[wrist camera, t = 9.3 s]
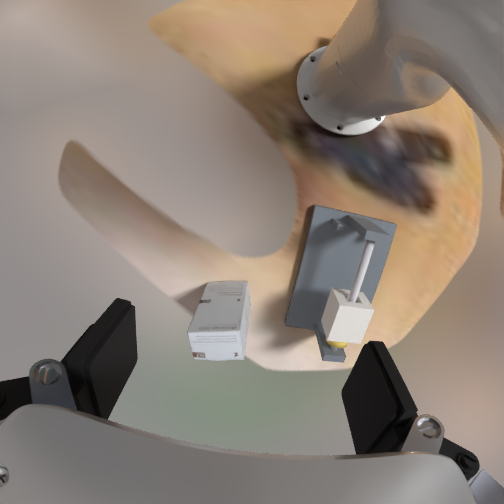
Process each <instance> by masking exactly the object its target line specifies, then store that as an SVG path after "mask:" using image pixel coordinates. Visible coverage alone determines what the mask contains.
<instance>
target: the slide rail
mask: <svg viewBox="0 0 504 504" xmlns="http://www.w3.org/2000/svg"><path fill="white" fill-rule="evenodd" d="M396 226H397V225H396V224H395V223H391V222H387V221H383V220H379V219H375V218H371V217H367V216H363V215H359V214H355V213H350V212H346V211H341V210H337V209H333V208H328V207H323V206H319V205H314V208H313V212H312V217H311V221H310V225H309V230H308V234H307V238H306V242H305V246H304V250H303V255H302V259H301V263H300V267H299V271H298V274H297V278H296V282H295V286H294V290H293V294H292V297H291V301H290V305H289V309H288V312H287V316H286V320H285V326H290V327H297V328H305V329H312V330H315V333H316V337H317V340H318V344H319V348H320V352H321V356H322V361H333V362H344V360H345V358H346V355H345V352H344V349H343V348H344V347H346V346H347V344H348V343H346V342H336V341H327V339H326V335H325V332H324V329H323V325H322V322H321V319H322V316H323V313H324V310H325V307H326V304H327V301H328V298H329V295H330V292H331V289H332V288H338V289H345V290H351V292H350V295H349V298H348V301H347V302H354V303H355V302H356V299H357V297H358V294H359V292H363V293H364V294H365V296H366V297H367V299H368V300H369V302H370V304H371V302H372V300H373V297H374V294H375V292H376V289H377V286H378V283H379V280H380V278H381V275H382V272H383V269H384V266H385V263H386V260H387V256H388V253H389V250H390V247H391V244H392V240H393V237H394V233H395V230H396Z"/></svg>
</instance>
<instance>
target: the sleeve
mask: <svg viewBox="0 0 504 504" xmlns="http://www.w3.org/2000/svg"><path fill="white" fill-rule="evenodd" d="M350 292H351V290H345V289H338V288H332V289H331V292H330V295H329V298H328V301H327V304H326V307H325V310H324V313H323V316H322V319H321V322H322V325H323V329H324V332H325V335H326V339H327V341H336V342H346V343H357V344H360V343H361V341H362V339H363V336H364V334H365V332H366V329H367V327H368V324H369V322H370V320H371V317H372V315H373V312H374V308H373V307H372V305H371V304H370V302H369V300H368V299H367V297H366V296H365V294H364V293H363V292H359V294H358V297H357V299H356V302H355V303H354V302H347V301H348V298H349V295H350Z"/></svg>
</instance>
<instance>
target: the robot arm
mask: <svg viewBox="0 0 504 504" xmlns="http://www.w3.org/2000/svg"><path fill="white" fill-rule="evenodd" d="M310 60H314V62H311V61H310ZM296 86H297V94H298V98H299V100H300V103H301V105H302V107H303V109H304V110H305V111H306V113H307V114H308V116H309V117H310V118H311V119H312V120H313V121H314V122H315V123H317V124H318V125H320V126H321V127H322V128H324V129H326V130H328V131H330V132H333V133H336V134H340V135H348V136H349V135H359V134H364V133H367V132H369V131H372V130H373V129H375V128H376V127H378V126H379V125H380V124H381V123H382V122H383V121H384V119H385V117H386V116H387V115H391V114H395V113H400V112H404V111H409V110H413V109H418V108H423V107H426V106H429V105H431V104H434V103H435V102H437V101H438V100H440V99H441V98H442V97H443V96H444V95H445V94H446V93H447V91H448V90H449V88H450V87H452V88H453V89H454V90H455V91H456V92H457V93H458V94H459V95H460V96H461V98H462V99H463V100H464V101H465V102H466V104H467V105H468V106H469V107H470V108H472V109H473V111H474V112H475V113H476V114H477V116H478V117H479V118H480V120H481V121H482V122H483V124H484V125H485V126H486V128H487V129H488V130H489V132H490V133H491V135H492V136H493V137H494V139H495V140H496V142H497V143H498V145H499V146H500V148H501V149H502V151H503V152H504V0H357V2H356V4H355V6H354V7H353V9H352V11H351V12H350V14H349V15H348V17H347V18H346V20H345V21H344V23H343V25H342V26H341V28H340V29H339V31H338V32H337V34H336V35H335V37H334V38H333V40H332V41H331V43H330V44H329V45H327V46H323V47H321V48H318V49H316V50H315V51H313V52H312V53H310V54H309V55H308V56H307V57H306V59H305V60H304V61H303V63H302V65H301V66H300V69H299V71H298V75H297V80H296ZM304 97H306V98H307V100H304ZM375 118H377V120H376V119H375ZM337 126H339V127H340V130H338V129H337ZM136 362H137V341H136V321H135V306H133V305H131V302H130V301H127V300H124V299H120V298H116V299H115V300H114V302H113V303H112V304H111V305H110V306H109V307H108V308H107V310H106V311H105V312H104V313H103V314H102V315H101V317H100V318H99V319H98V320H97V321H96V322H95V324H92V325H91V326H89V328H88V329H87V330H86V331H85V332H84V334H83V335H82V336H81V337H80V338H79V340H78V341H77V342H76V343H75V344H74V346H73V347H72V348H71V349H70V351H69V352H68V353H67V354H66V355H65V357H64V358H63V359H62V360H61V362H59V361H57V360H54V359H43V360H40V361H38V362H36V363H35V364H34V365H33V366H32V367H31V369H30V371H29V376H28V377H23V378H18V379H12V380H6V381H1V382H0V504H504V488H503V487H502V486H501V485H500V484H499V483H498V482H497V481H495V480H494V479H493V478H492V477H491V476H490V475H489V474H488V473H487V472H485V471H484V470H483V469H482V470H481V471H479V466H480V465H479V461H478V459H477V457H476V456H475V455H474V454H473V453H472V452H470V451H468V450H466V449H464V448H462V447H461V446H459V445H457V444H455V443H453V442H451V441H450V440H448V439H446V438H444V426H443V425H442V423H441V422H440V421H439V420H438V419H437V418H435V417H434V416H431V415H427V414H424V415H420V416H418V415H417V413H416V412H417V411H418V409H417V407H416V405H415V403H414V401H413V399H412V397H411V395H410V393H409V391H408V389H407V387H406V385H405V383H404V381H403V379H402V377H401V375H400V373H399V371H398V369H397V367H396V365H395V363H394V361H393V359H392V357H391V355H390V354H389V352H388V350H387V348H386V346H385V344H384V343H383V342H380V341H369V342H368V343H367V344H365V345H364V346H363V348H362V350H361V352H360V354H359V357H358V359H357V361H356V363H355V365H354V367H353V369H352V371H351V373H350V375H349V377H348V379H347V381H346V383H345V385H344V387H343V389H342V399H343V403H344V406H345V411H346V415H347V418H348V422H349V427H350V431H351V435H352V439H353V443H354V447H355V451H356V455H333V456H308V455H307V456H306V455H282V454H269V453H256V452H247V451H239V450H232V449H225V448H219V447H212V446H207V445H201V444H196V443H191V442H186V441H182V440H176V439H173V438H169V437H164V436H160V435H156V434H153V433H149V432H146V431H142V430H139V429H135V428H132V427H128V426H125V425H121V424H118V423H115V422H112V421H109V420H108V418H109V416H110V414H111V412H112V410H113V407H114V406H115V404H116V402H117V400H118V398H119V396H120V394H121V392H122V390H123V388H124V386H125V384H126V382H127V380H128V378H129V376H130V375H131V373H132V371H133V369H134V367H135V365H136Z"/></svg>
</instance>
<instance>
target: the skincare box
mask: <svg viewBox="0 0 504 504" xmlns="http://www.w3.org/2000/svg"><path fill="white" fill-rule="evenodd" d="M249 313H250V295H249V285H248V282H247V281H221V282H210V283H207V285H206V287H205V290H204V292H203V295H202V297H201V299H200V302H199V304H198V307H197V309H196V312H195V314H194V316H193V319H192V321H191V324H190V327H189V329H188V331H187V334H188V338H189V341H190V346H191V349H192V353H193V357H194V359H206V360H215V361H223V360H243V359H244V357H245V347H246V340H247V331H248V322H249Z"/></svg>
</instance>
